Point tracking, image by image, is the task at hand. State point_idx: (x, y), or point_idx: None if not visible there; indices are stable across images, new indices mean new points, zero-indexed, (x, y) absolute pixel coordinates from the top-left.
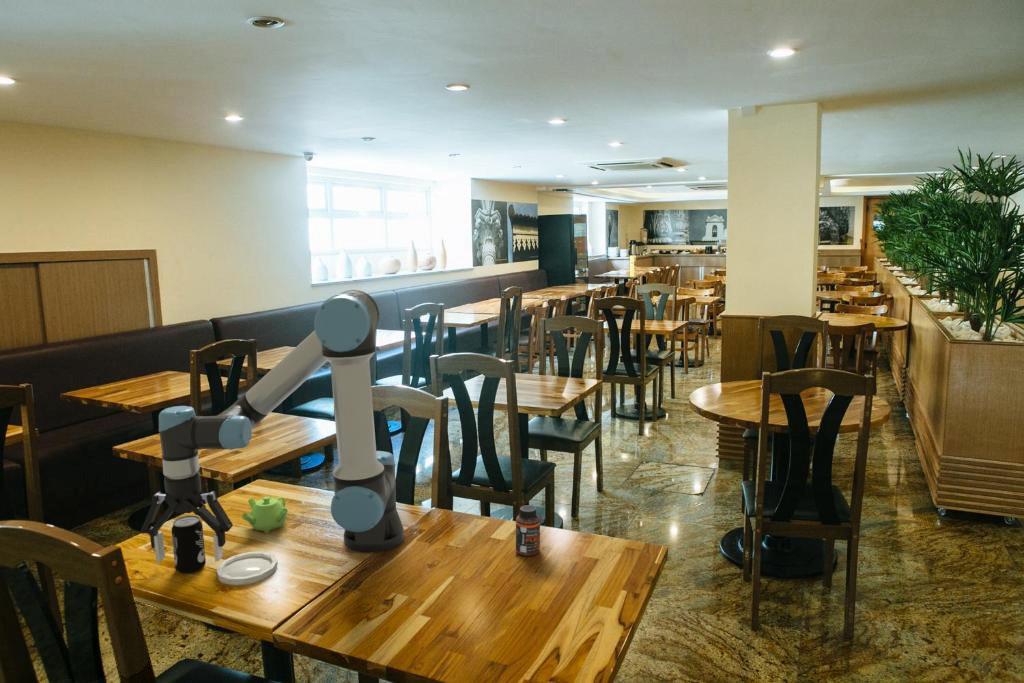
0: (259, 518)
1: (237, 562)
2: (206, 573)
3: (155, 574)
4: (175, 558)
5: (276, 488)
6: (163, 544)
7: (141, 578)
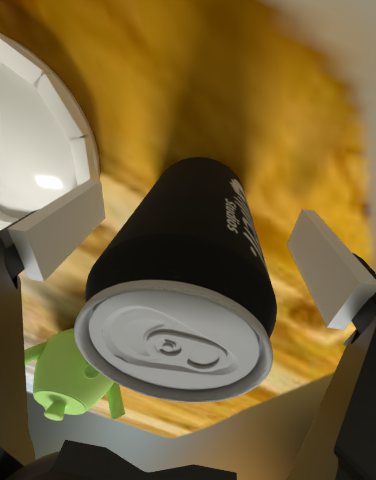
0: (73, 357)
1: (58, 194)
2: (137, 156)
3: (307, 179)
4: (239, 191)
5: (142, 423)
6: (303, 274)
7: (356, 157)
